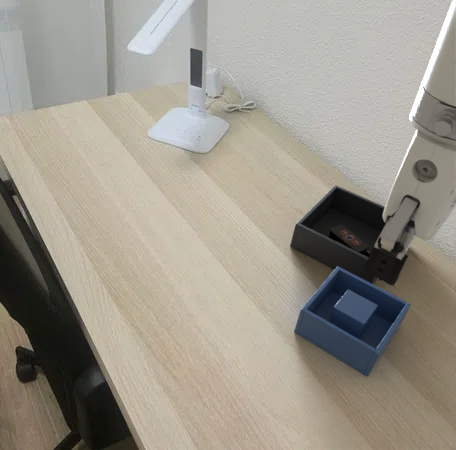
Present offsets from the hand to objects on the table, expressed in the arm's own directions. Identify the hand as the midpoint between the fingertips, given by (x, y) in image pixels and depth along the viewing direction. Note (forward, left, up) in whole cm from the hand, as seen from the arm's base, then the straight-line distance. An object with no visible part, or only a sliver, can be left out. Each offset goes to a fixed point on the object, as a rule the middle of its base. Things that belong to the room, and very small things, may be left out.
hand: (397, 252), depth 59 cm
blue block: (+3, -7, -22) cm, 23 cm away
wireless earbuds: (+10, -22, -22) cm, 32 cm away
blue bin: (+3, -7, -22) cm, 24 cm away
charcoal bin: (+11, -24, -22) cm, 35 cm away
